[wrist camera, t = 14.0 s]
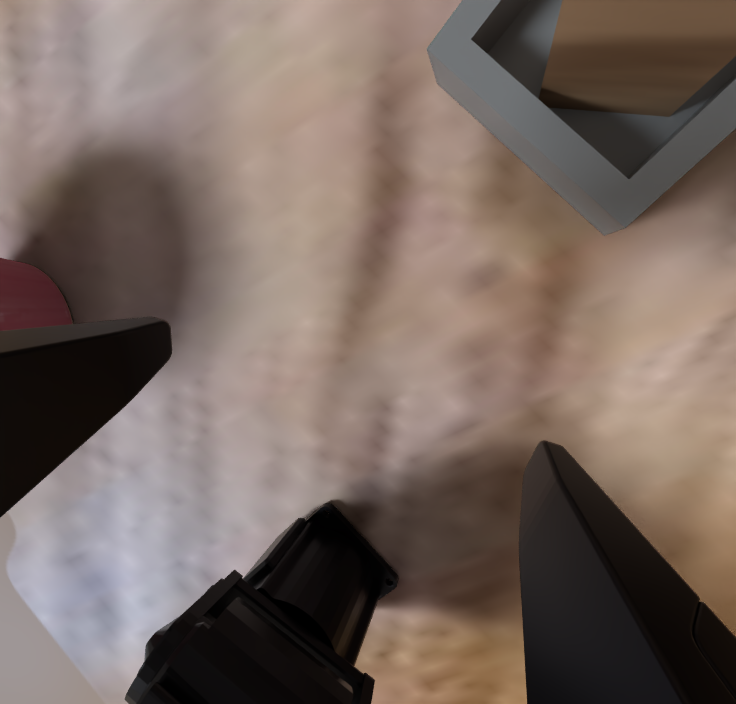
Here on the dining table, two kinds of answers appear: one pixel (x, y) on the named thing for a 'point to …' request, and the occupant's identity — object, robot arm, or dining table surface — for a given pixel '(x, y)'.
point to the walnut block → (636, 53)
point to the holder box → (572, 113)
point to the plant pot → (29, 298)
